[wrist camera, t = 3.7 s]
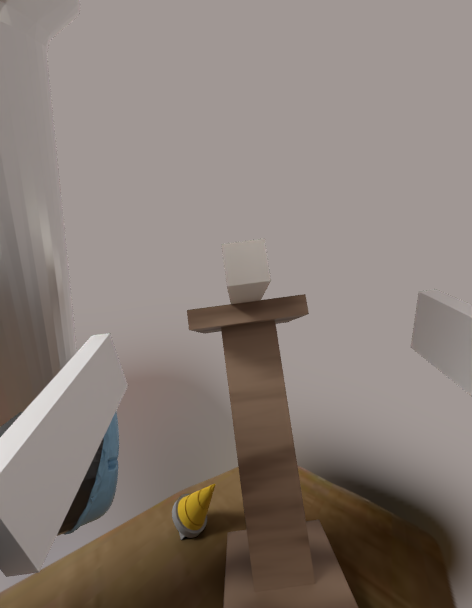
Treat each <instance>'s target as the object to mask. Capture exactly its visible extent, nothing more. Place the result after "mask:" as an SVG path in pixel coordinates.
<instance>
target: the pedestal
mask: <svg viewBox="0 0 472 608" xmlns="http://www.w3.org/2000/svg"><path fill="white" fill-rule="evenodd" d="M307 314H309V313H308V307H307V302H306V297H305V294H304V295H297V296H289V297H282V298H274V299H267V300H259V301H252V302H244V303H237V304H230V305H222V306H215V307H207V308H200V309H192V310H187V315H188V324H189V330H192V331H196V332H200V333H211V332H218V331H222V338H223V347H224V355H225V363H226V370H227V378H228V386H229V394H230V402H231V410H232V418H233V426H234V434H235V441H236V450H237V458H238V466H239V473H240V481H241V489H242V497H243V505H244V513H245V521H246V529H247V530H241V531H234V532H228V538H227V555H226V572H225V589H224V605H223V608H358V606H357V604H356V601H355V599H354V597H353V595H352V592H351V590H350V588H349V586H348V583H347V581H346V579H345V577H344V574H343V572H342V570H341V568H340V566H339V563H338V561H337V559H336V557H335V554H334V552H333V550H332V548H331V545H330V543H329V541H328V539H327V536H326V534H325V532H324V530H323V527H322V525H321V523H320V521H319V520H313V521H306V519H305V513H304V506H303V500H302V493H301V487H300V480H299V474H298V467H297V461H296V455H295V448H294V442H293V435H292V428H291V422H290V415H289V409H288V402H287V396H286V389H285V383H284V376H283V370H282V363H281V357H280V351H279V344H278V337H277V331H276V324H278V323H284V322H289V321H292V320H294V319H297V318H299V317H302V316H304V315H307Z"/></svg>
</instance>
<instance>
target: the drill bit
mask: <svg viewBox="0 0 472 608" xmlns="http://www.w3.org/2000/svg"><path fill="white" fill-rule="evenodd" d="M214 487H215V484H213V485H210V486H208V487H206V488H204V489H201V490H199V491H197V492H195V493H192V494H184V495H182V496H180V497H179V499H178V500H177V501H176V502H175V504H174V506H173V509H172V518H173V522H174V524H175V527H176V528H177V530H178V531H179V534H180V538H181V540H182V539H183V538H184V536H186V537H189V538H193V537H196V536H198V535H199V534H200V533H201V532H202V530H203V529H204V528H205V526H206V523H207V511H208V508H209V504H210V501H211V498H212V494H213V493H212V492H213V491H214Z"/></svg>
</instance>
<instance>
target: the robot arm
mask: <svg viewBox="0 0 472 608" xmlns="http://www.w3.org/2000/svg"><path fill="white" fill-rule="evenodd" d="M79 14H80V0H0V569H1V571H2V572H3V573H4V574H5V576H6V577H8V576H15V575H22V574H30V573H37V572H40V569H41V567H42V565H43V563H44V561H45V559H46V557H47V555H48V553H49V550H50V548H51V546H52V544H53V542H54V540H55V538H56V536H58V535H60V534H69V533H72V532H74V531H75V530H77V529H78V528H79V527H80V526H82V525H85V524H87V523H89V522H92V521H94V520H96V519H98V518H100V517H101V516H103V515H104V514H105V513H106V511H108V509H109V508H110V506H111V504H112V502H113V499H114V496H115V492H116V485H117V477H118V461H117V458H118V451H119V433H118V420H117V413H116V410H117V408H118V406H119V404H120V401H121V399H122V397H123V395H124V393H125V391H126V389H127V387H128V385H127V382H126V379H125V376H124V373H123V370H122V367H121V364H120V361H119V358H118V355H117V352H116V349H115V346H114V343H113V340H112V337H111V334H110V333H107V334H100V335H92V336H91V337H90V338H89V339H88V341H87V342H86V343H85V344H84V345H83V346H82V347H81V348H80V349H79V351H78V352H77V347H76V337H75V327H74V317H73V308H72V298H71V288H70V278H69V269H68V258H67V249H66V239H65V228H64V219H63V209H62V199H61V189H60V179H59V169H58V159H57V151H56V140H55V130H54V120H53V110H52V102H51V91H50V81H49V71H48V61H47V52H48V46H49V41H50V40H51V39H52V38H54V37H55V36H56V35H57V34H58V33H59V32H60V31H62V30H63V29H64V28H65V27H66V26H68V25H69V24H70V23H71V22H72V21H73V20H75V19H76V18H77V16H78V15H79ZM411 348H412V349H413V350H415V351H416V352H417V353H418V354H420V355H421V356H422V357H423V358H425V359H426V360H427V361H428V362H430V363H431V364H432V365H433V366H435V367H436V368H437V369H438V370H439V371H441V372H442V373H443V374H445V375H446V376H447V377H448V378H449V379H451V380H452V381H453V382H454V383H456V384H457V385H458V386H459V387H461V388H462V389H463V390H465V391H466V392H467V393H468V394H469V395H471V396H472V305H471V304H469V303H467V302H465V301H462V300H460V299H458V298H456V297H453V296H451V295H449V294H446V293H444V292H442V291H440V290H437V289H434V290H426V291H419V293H418V300H417V308H416V314H415V322H414V328H413V335H412V343H411Z"/></svg>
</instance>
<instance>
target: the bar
mask: <svg viewBox="0 0 472 608" xmlns="http://www.w3.org/2000/svg"><path fill="white" fill-rule="evenodd" d="M222 252H223V259H224V267H225V275H226V282H227V289H228V293H229V297H230V302H231V304H237V303H244V302H252V301H259V300H261V299H262V297H263V295H264V293H265V291H266V289H267V287H268V285H269V283H270V281H271V278H270V271H269V265H268V258H267V252H266V245H265V240H264V239H258V240H250V241H243V242H235V243H227V244H222Z"/></svg>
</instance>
